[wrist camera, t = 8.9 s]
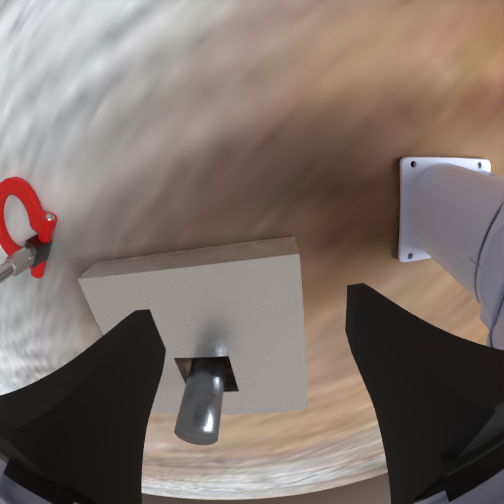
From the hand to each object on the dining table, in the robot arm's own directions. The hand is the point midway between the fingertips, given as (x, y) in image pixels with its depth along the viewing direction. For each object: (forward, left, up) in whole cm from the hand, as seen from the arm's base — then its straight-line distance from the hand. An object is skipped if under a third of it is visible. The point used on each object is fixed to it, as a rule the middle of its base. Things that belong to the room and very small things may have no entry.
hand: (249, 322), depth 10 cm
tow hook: (+21, -4, -11) cm, 24 cm away
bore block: (+5, +9, -10) cm, 15 cm away
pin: (+5, +11, -10) cm, 16 cm away
